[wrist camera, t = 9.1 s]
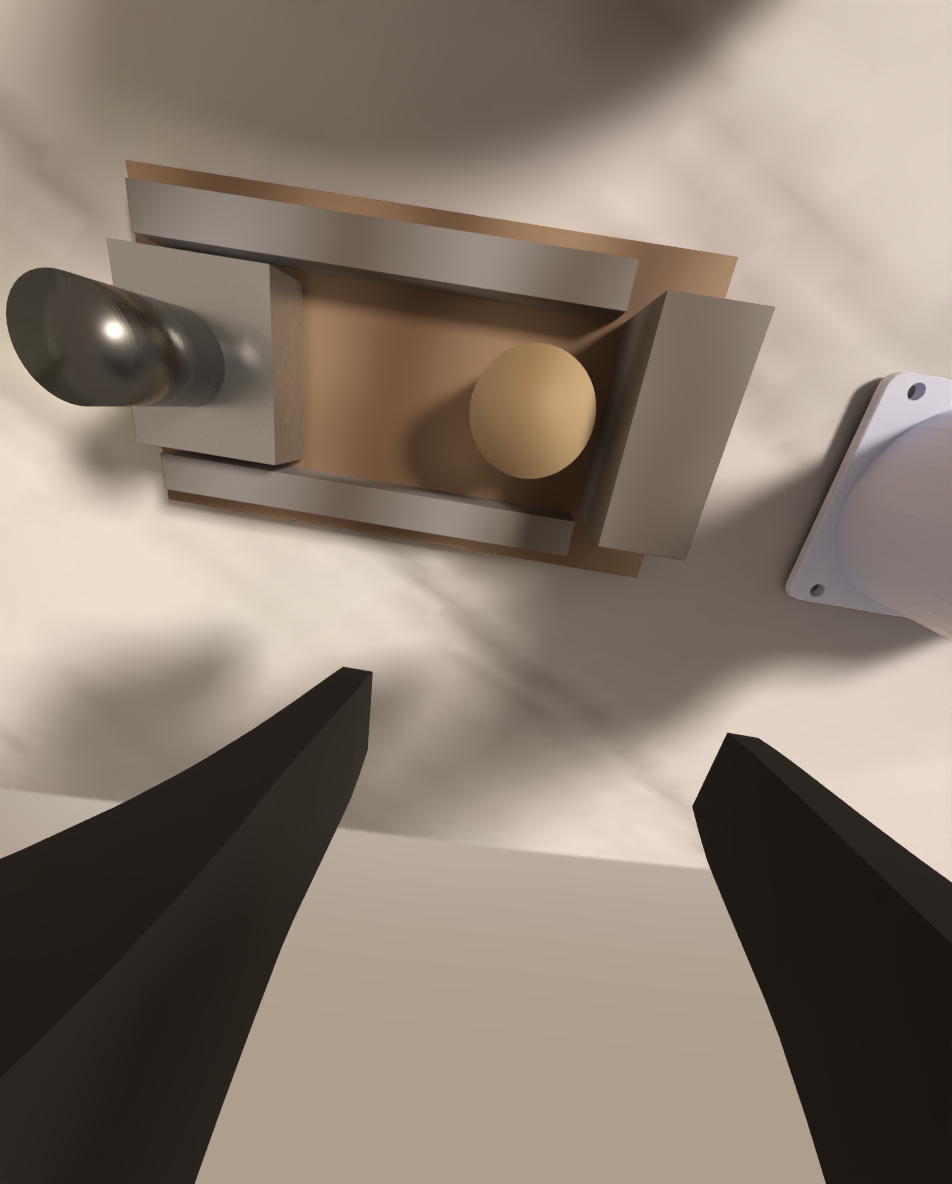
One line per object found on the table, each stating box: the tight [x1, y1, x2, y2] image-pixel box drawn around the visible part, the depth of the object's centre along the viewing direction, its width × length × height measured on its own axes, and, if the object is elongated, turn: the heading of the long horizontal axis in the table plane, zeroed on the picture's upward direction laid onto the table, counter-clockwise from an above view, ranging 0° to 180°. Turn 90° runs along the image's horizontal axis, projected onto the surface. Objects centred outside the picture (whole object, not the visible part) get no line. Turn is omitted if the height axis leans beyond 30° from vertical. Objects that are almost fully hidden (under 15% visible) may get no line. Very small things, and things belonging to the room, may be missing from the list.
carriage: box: [6, 238, 303, 465], centre depth 12 cm, size 4×5×6 cm
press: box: [125, 160, 775, 578], centre depth 13 cm, size 18×10×5 cm, turn 81°
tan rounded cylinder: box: [469, 343, 596, 479], centre depth 13 cm, size 3×3×3 cm
